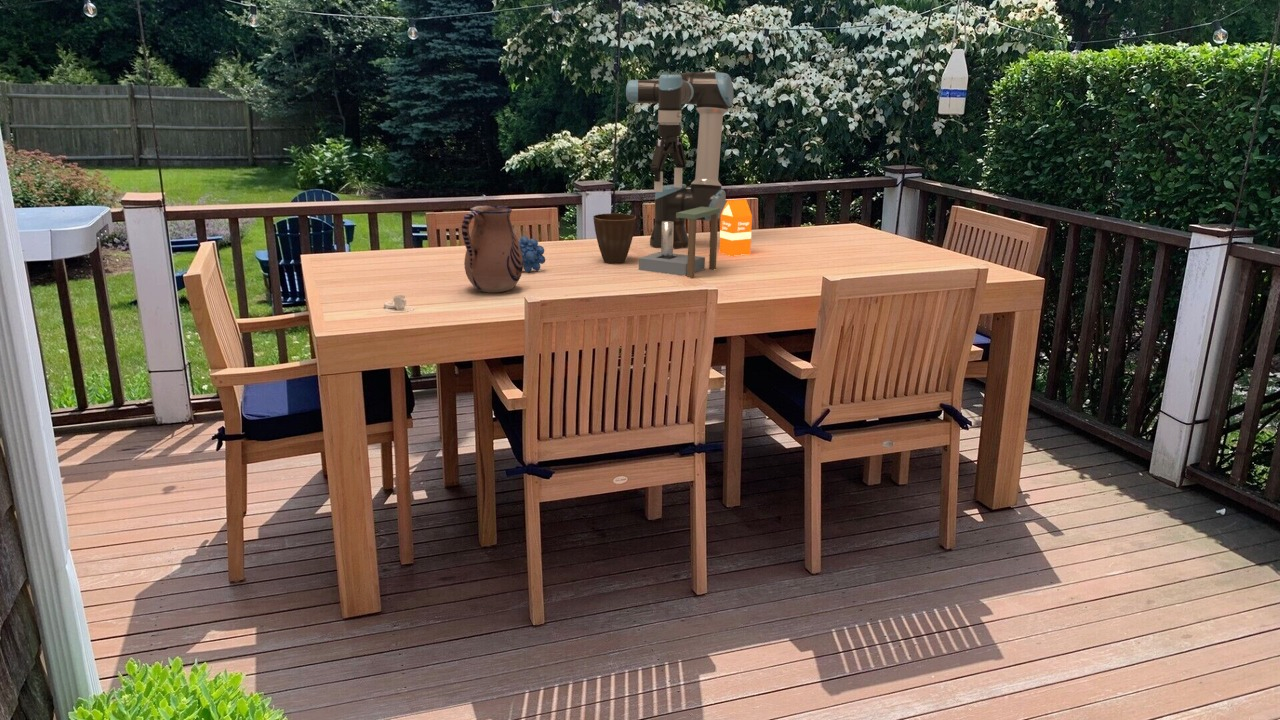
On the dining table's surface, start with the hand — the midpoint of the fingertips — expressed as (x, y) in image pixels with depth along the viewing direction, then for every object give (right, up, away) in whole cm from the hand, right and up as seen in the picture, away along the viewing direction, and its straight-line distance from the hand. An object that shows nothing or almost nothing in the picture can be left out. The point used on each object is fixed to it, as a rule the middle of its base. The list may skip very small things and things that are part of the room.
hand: (668, 189), depth 307 cm
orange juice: (+26, -18, +35) cm, 47 cm away
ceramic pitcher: (-54, -36, -27) cm, 71 cm away
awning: (+10, -27, +2) cm, 29 cm away
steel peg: (0, -26, +8) cm, 27 cm away
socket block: (+1, -26, +7) cm, 27 cm away
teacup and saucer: (-76, -42, -47) cm, 99 cm away
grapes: (-46, -28, -1) cm, 54 cm away
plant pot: (-18, -22, +18) cm, 34 cm away
